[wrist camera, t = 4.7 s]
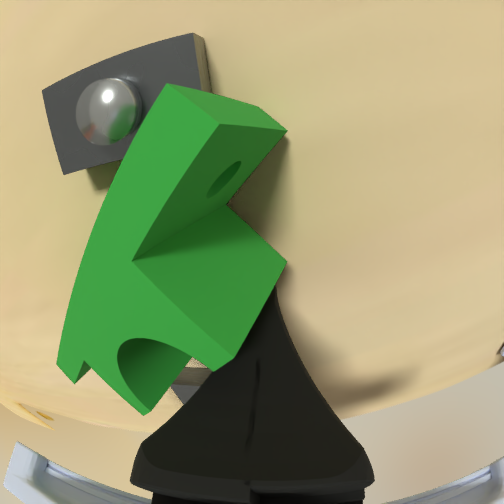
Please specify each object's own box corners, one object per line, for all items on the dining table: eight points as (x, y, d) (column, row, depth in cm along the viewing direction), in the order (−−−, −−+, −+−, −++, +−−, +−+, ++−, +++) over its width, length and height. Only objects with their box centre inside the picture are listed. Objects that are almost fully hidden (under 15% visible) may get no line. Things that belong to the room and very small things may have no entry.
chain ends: (203, 37, 6) (186, 29, 5) (263, 392, 16) (263, 417, 15) (63, 85, 7) (29, 93, 5) (187, 390, 17) (183, 413, 16)
